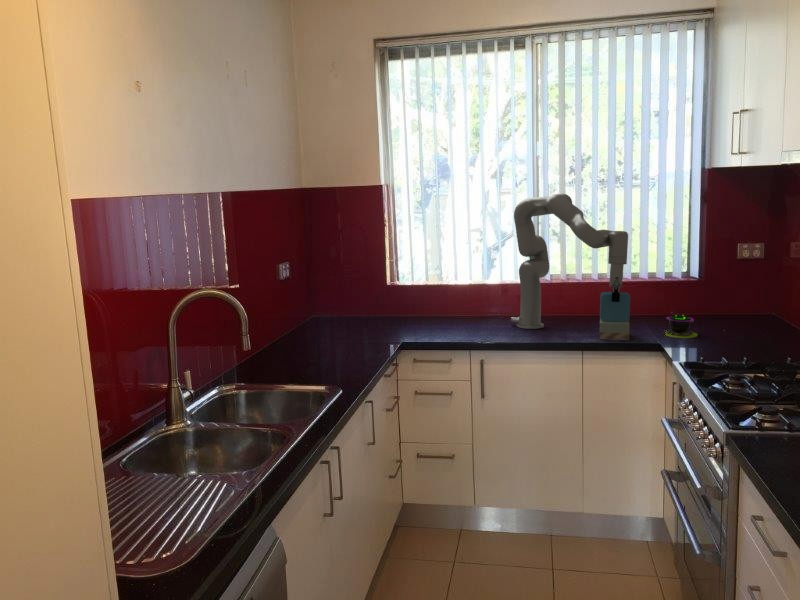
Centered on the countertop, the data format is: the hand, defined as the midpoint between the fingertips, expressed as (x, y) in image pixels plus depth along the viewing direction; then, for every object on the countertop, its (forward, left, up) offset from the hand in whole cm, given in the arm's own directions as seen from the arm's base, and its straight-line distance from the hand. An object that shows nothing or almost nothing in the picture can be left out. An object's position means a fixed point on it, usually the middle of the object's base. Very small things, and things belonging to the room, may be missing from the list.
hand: (615, 299), depth 286 cm
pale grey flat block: (0, 0, -13) cm, 13 cm away
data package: (0, 0, -9) cm, 9 cm away
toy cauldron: (+27, +12, -17) cm, 34 cm away
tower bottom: (0, 0, -17) cm, 17 cm away
